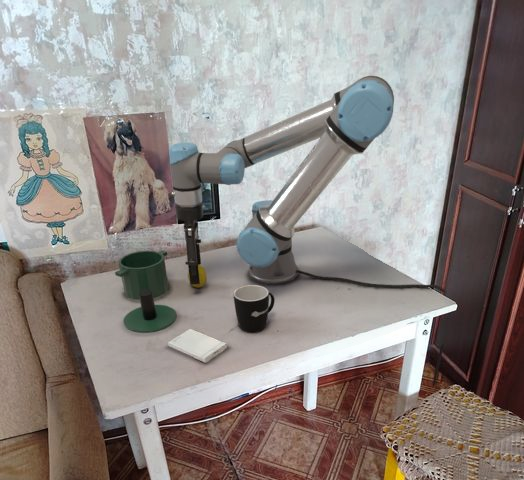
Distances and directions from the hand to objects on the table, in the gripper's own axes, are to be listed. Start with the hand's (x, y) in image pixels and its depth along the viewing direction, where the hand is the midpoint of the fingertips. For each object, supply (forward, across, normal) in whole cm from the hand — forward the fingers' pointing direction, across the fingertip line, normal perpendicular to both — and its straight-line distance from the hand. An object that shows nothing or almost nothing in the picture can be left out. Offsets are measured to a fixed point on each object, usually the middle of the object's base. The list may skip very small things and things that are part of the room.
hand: (195, 273), depth 149 cm
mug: (+5, +24, +17) cm, 30 cm away
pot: (+5, 0, -15) cm, 16 cm away
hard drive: (+5, +33, +1) cm, 34 cm away
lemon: (+5, 0, 0) cm, 5 cm away
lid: (+4, +18, -12) cm, 22 cm away
